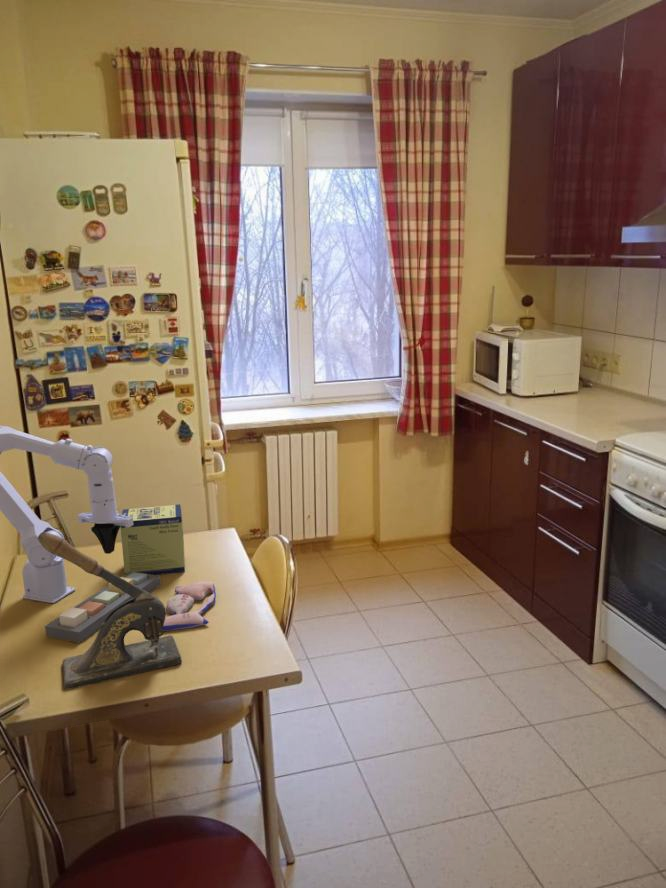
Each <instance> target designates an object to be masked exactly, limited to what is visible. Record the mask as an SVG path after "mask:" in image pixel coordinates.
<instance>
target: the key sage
mask: <svg viewBox="0 0 666 888" xmlns="http://www.w3.org/2000/svg"><path fill="white" fill-rule="evenodd" d="M118 598H119V593H115V592H109V591H104V592H102V593H101V594H99V595H98V596H96V597H95V598H94V602H97V603H103V604H106V605H109V604H111V603H112V602H114V601H115V600H117V599H118Z"/></svg>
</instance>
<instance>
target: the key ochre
mask: <svg viewBox="0 0 666 888" xmlns="http://www.w3.org/2000/svg"><path fill="white" fill-rule="evenodd" d="M119 577H120V578H122V579H124V580H126V581H127V582H129V583H131V584H133V579H130V578H123V577H122V576H119ZM108 585H109V592H115V593H119V594H123V595H124V594H125V592H123V591H122V590H121V589H119V588H117V587H115V586H114V585H112V584H111V583H109V582H108Z"/></svg>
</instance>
